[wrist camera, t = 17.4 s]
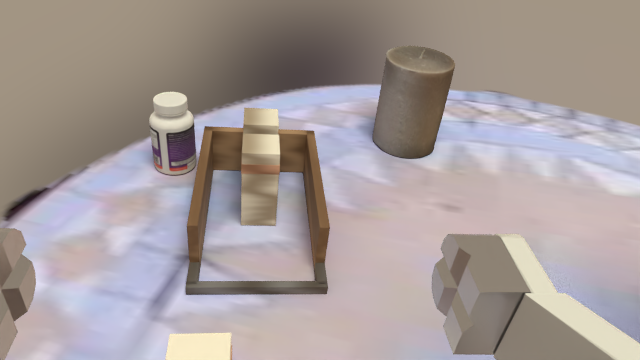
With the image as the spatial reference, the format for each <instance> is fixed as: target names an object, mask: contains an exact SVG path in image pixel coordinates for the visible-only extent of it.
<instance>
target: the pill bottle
mask: <svg viewBox="0 0 640 360" xmlns="http://www.w3.org/2000/svg"><path fill="white" fill-rule="evenodd" d="M153 103H154V112H153V113H152V114H151V116H150V119H149V120H150V121H149V122H150V123H149V124H150V132H151V140H152V148H153V156H154V163H155V167H156V169H157V170H158V171H160V172H162V173H164V174H169V175H180V174H184V173H187V172H189V171H191V170H192V169H193V168H194V167H195V165H196V147H195V132H194V118H193V115H192V114H191V113H190V112H189V111H188V110H187V109H188V105H187V98H186V96H185V95H183V94H181V93H177V92H164V93H160V94H158V95H156V96H155V97H154V99H153Z"/></svg>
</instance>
